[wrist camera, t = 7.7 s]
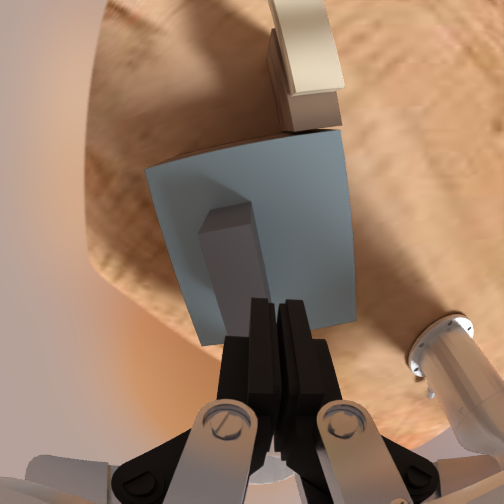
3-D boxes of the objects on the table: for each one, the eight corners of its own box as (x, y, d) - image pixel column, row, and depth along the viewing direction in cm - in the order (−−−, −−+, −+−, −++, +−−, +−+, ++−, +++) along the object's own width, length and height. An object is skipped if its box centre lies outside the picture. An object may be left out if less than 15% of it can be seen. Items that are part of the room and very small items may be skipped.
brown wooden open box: (333, 268, 34) (358, 320, 25) (214, 289, 36) (201, 346, 26) (299, 55, 25) (320, 24, 16) (162, 84, 26) (121, 68, 17)
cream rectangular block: (334, 91, 18) (345, 87, 15) (291, 96, 18) (296, 92, 15) (308, -8, 14) (315, -23, 12) (266, -5, 15) (267, -20, 12)
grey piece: (350, 307, 27) (373, 358, 20) (204, 331, 28) (193, 386, 22) (332, 129, 21) (365, 131, 14) (153, 165, 22) (114, 183, 15)
